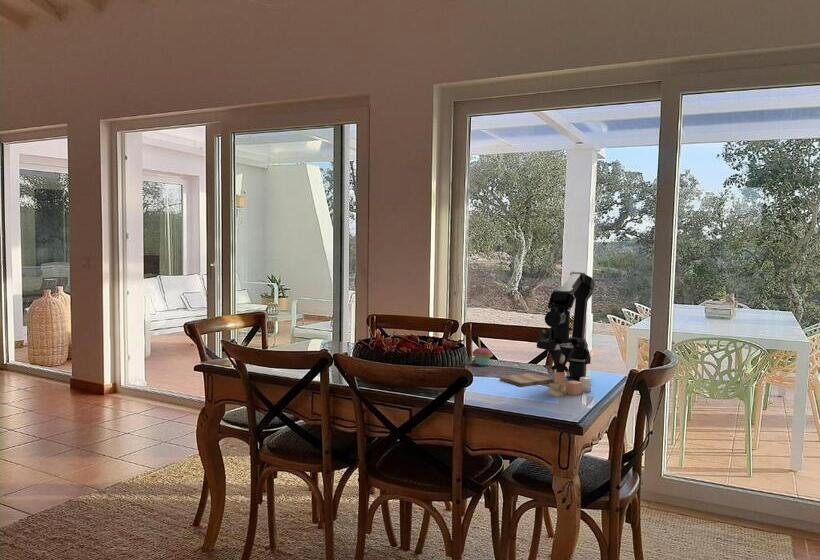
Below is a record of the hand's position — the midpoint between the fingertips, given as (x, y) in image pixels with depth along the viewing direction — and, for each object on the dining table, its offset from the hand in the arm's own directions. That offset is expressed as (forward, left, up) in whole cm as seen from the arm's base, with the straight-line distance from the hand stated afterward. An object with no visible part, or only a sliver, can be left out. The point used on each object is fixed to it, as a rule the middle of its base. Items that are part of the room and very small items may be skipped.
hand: (559, 367), depth 236 cm
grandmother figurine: (0, 0, -8) cm, 8 cm away
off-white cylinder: (-7, +6, -8) cm, 12 cm away
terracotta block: (0, +7, -8) cm, 11 cm away
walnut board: (+2, -15, -8) cm, 17 cm away
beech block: (+7, +6, -8) cm, 12 cm away
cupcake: (-3, -48, -8) cm, 49 cm away
